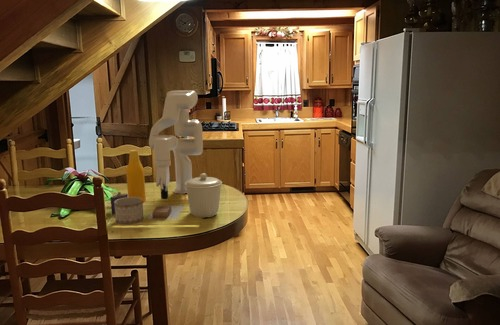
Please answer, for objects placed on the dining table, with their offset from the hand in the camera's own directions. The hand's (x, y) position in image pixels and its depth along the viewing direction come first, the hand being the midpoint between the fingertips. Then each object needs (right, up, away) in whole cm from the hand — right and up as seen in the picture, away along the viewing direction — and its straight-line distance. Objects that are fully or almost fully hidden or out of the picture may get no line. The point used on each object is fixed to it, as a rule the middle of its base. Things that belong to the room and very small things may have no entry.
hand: (164, 198), depth 202 cm
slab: (0, -5, -1) cm, 5 cm away
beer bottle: (-19, -4, +18) cm, 26 cm away
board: (+1, -8, -1) cm, 8 cm away
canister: (+20, -8, -3) cm, 22 cm away
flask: (-23, -7, +3) cm, 24 cm away
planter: (-14, -10, -11) cm, 21 cm away
